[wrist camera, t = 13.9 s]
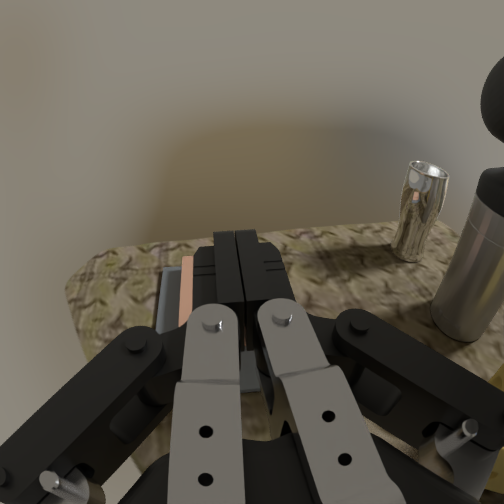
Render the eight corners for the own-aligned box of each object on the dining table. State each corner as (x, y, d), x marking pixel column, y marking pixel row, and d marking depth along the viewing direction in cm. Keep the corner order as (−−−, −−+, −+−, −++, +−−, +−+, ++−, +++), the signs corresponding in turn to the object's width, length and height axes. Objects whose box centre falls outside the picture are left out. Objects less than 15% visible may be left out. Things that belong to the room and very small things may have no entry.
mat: (276, 263, 46) (276, 260, 45) (312, 384, 30) (313, 381, 29) (164, 270, 44) (163, 267, 44) (151, 396, 28) (150, 393, 27)
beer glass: (405, 237, 53) (426, 159, 44) (432, 258, 47) (458, 177, 39) (379, 244, 50) (399, 160, 42) (406, 268, 45) (434, 179, 36)
